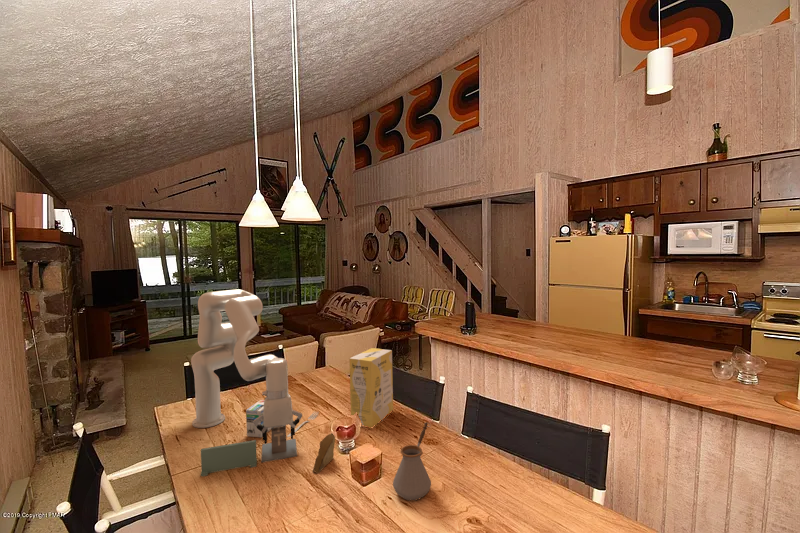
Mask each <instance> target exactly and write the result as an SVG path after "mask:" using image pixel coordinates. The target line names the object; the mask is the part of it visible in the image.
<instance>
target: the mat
mask: <svg viewBox="0 0 800 533" xmlns="http://www.w3.org/2000/svg"><path fill="white" fill-rule="evenodd" d="M296 441H297V440H296V438H293V439H291V438H290V439H286V452H280V453H274V454H272V442H267V443H266V444H265V443H262V447H261V458H260V459H261V460H260V462H261V463H267V462H272V461H273V462H274V461H279V460H284V459H288V458H289V459H290V458H293V457H295V458H296V457H298V451H297V442H296Z"/></svg>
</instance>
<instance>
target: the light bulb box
mask: <svg viewBox="0 0 800 533" xmlns="http://www.w3.org/2000/svg"><path fill="white" fill-rule="evenodd" d="M264 400H265V399H260V400H258V401H257V402H255V403H254V404H252V405H251V406H250V407H248V408H247V409H246V410H245V416H246V418H245V419H246V420H245V422H246V437H253V438H262V432H261V431H260V430H258V429H257V427H256V426H255V425H254V423H253V421H254V420H255V419H256V418H258V417H259V416H261V415H262V414H263V408H264ZM259 424H261V425H262V426H263V425H264V423H263V419H262V420H261V421H259ZM271 428H272V427H269V428H267V429H266V430H267V433H268V432H270V431H271Z"/></svg>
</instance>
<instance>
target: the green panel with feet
mask: <svg viewBox="0 0 800 533" xmlns="http://www.w3.org/2000/svg"><path fill="white" fill-rule="evenodd" d="M257 454H258V453H257V440H256V439H253V440H248V441H241V442H235V443H229V444H222V445H216V446H211V447H205V448H201V449H200V466H201V467H200V468H201V469H200V477H201V476H202V477H207V476H209V475H208V474H211V473H217V472H223V471H227V470H234V469H237V468H244V467H249V468H257V464H258V458H257V456H258V455H257Z"/></svg>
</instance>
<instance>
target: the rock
mask: <svg viewBox="0 0 800 533" xmlns="http://www.w3.org/2000/svg"><path fill="white" fill-rule="evenodd" d="M335 443H336V436H335V434H334V433H329V434H326V436H325V437H323V438H322V440H321V441H320V442H319V449H318V452H317V456H316V459H315V461H314V462H315V463H314V466H313V468H312V472H315V473H320V472H321V471H322V470H323V469H324V468H325V467H326V466H327V465H328V464H329V463H330V462H331V461H332V460H333V459H334V455H335V454H334V453H335V452H334V449H335Z"/></svg>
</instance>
